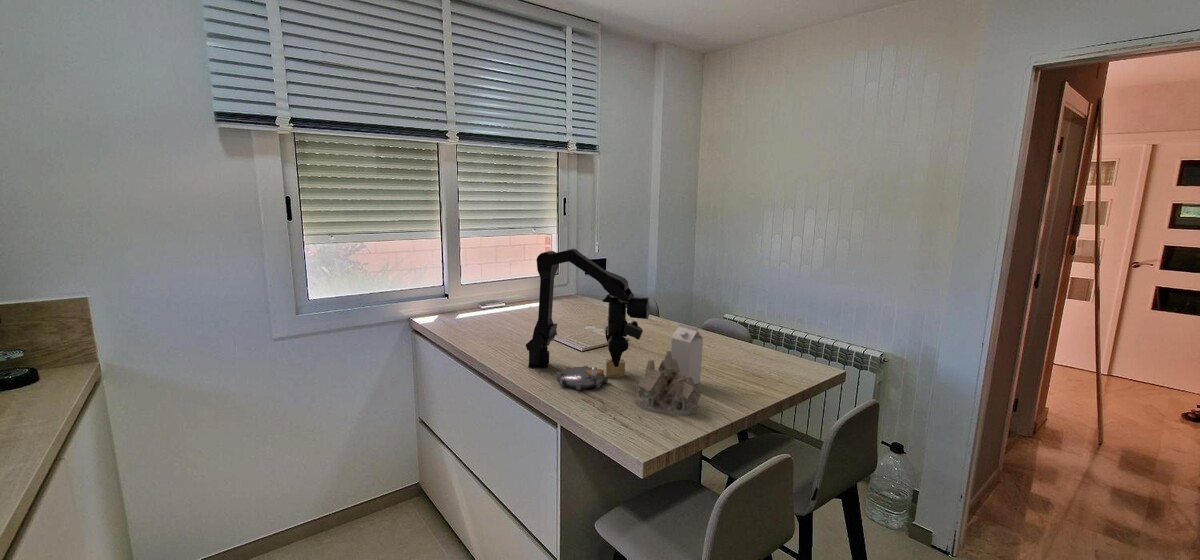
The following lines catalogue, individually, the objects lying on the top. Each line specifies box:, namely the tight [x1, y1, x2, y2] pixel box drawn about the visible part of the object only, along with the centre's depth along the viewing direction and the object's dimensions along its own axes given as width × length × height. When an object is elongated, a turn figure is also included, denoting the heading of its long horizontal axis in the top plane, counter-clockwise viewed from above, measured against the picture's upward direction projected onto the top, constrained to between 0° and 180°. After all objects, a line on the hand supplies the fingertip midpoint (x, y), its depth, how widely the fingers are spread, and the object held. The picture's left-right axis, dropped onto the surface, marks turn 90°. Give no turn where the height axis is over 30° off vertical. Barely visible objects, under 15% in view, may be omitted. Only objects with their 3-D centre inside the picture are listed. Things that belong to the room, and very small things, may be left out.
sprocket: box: [555, 365, 609, 391], centre depth 151 cm, size 16×16×6 cm
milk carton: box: [670, 322, 704, 386], centre depth 152 cm, size 7×7×19 cm
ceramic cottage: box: [634, 350, 702, 417], centre depth 135 cm, size 16×16×15 cm
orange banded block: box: [605, 358, 626, 378], centre depth 158 cm, size 6×4×5 cm, turn 93°
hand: (615, 361), depth 157 cm, fingers open, 9 cm apart
